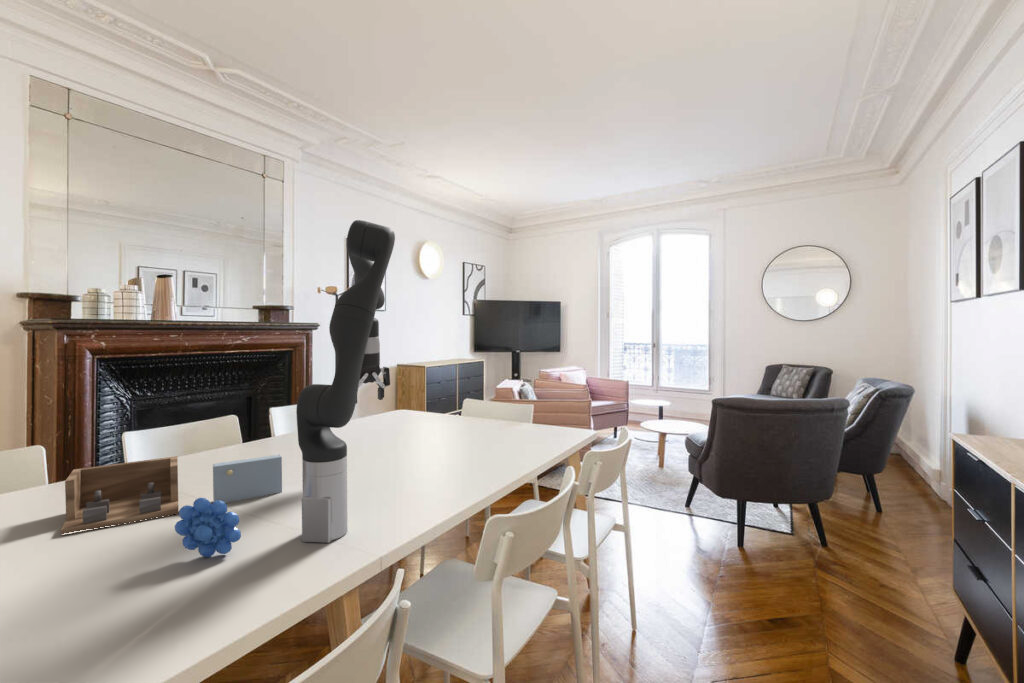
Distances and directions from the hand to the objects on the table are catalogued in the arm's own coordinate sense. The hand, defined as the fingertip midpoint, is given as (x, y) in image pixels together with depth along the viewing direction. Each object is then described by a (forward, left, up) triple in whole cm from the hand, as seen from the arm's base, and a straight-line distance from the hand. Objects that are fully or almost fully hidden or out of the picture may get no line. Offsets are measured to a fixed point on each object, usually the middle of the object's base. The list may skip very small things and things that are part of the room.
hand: (367, 401), depth 150 cm
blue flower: (-58, +10, -23) cm, 63 cm away
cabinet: (-39, +46, -22) cm, 64 cm away
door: (-25, +24, -23) cm, 41 cm away
